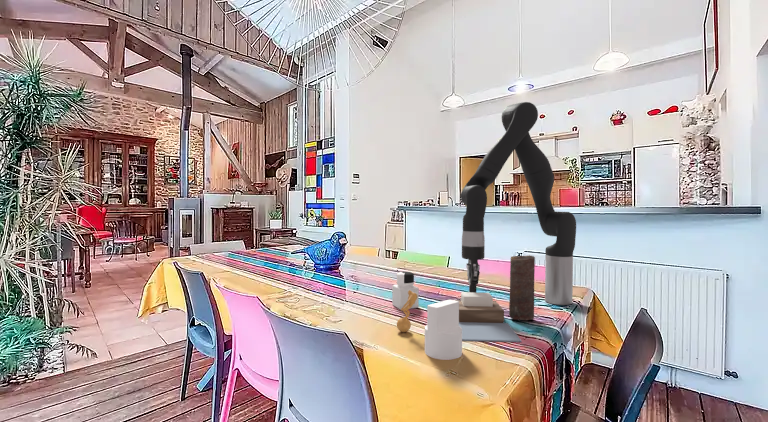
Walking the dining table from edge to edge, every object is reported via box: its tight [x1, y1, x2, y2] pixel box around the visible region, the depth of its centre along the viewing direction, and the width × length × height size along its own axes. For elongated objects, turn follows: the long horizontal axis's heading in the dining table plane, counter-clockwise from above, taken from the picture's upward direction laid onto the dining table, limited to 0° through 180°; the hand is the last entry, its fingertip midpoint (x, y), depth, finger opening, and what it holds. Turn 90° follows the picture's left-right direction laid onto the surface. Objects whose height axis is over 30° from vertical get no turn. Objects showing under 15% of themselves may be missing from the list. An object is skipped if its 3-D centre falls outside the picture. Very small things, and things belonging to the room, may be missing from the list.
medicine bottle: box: [391, 271, 420, 311], centre depth 139 cm, size 7×7×12 cm
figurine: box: [396, 290, 417, 333], centre depth 111 cm, size 8×6×12 cm
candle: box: [508, 255, 536, 321], centre depth 122 cm, size 8×7×20 cm
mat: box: [459, 322, 522, 343], centre depth 111 cm, size 15×16×1 cm
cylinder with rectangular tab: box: [424, 299, 463, 361], centre depth 96 cm, size 9×9×12 cm
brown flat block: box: [454, 299, 505, 323], centre depth 125 cm, size 12×14×4 cm
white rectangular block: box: [460, 291, 494, 307], centre depth 127 cm, size 6×9×3 cm, turn 86°
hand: (472, 295), depth 134 cm, fingers closed
